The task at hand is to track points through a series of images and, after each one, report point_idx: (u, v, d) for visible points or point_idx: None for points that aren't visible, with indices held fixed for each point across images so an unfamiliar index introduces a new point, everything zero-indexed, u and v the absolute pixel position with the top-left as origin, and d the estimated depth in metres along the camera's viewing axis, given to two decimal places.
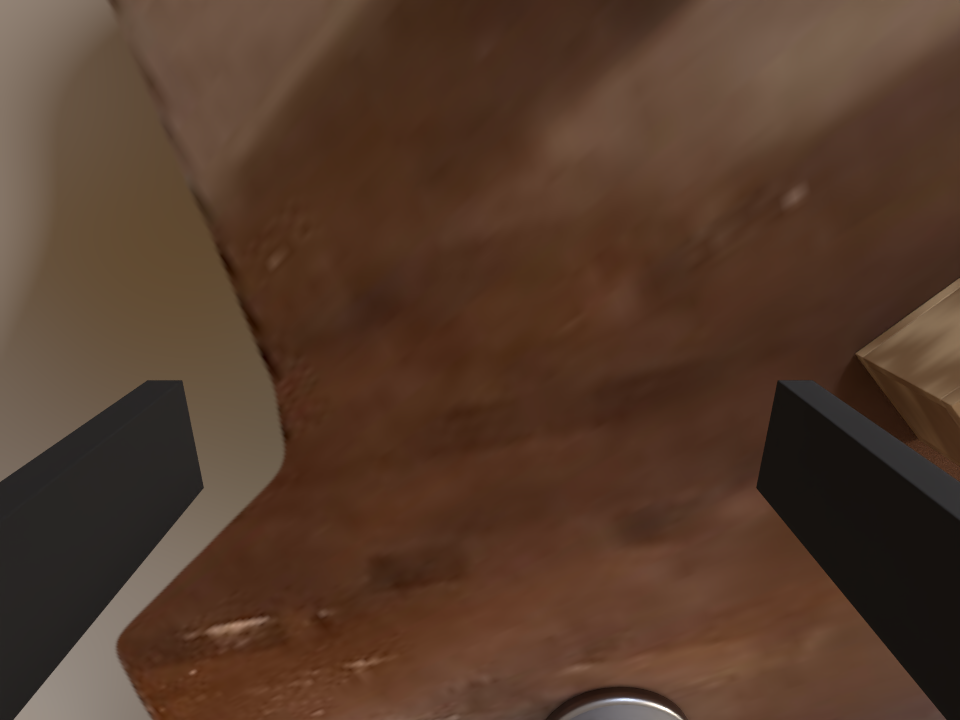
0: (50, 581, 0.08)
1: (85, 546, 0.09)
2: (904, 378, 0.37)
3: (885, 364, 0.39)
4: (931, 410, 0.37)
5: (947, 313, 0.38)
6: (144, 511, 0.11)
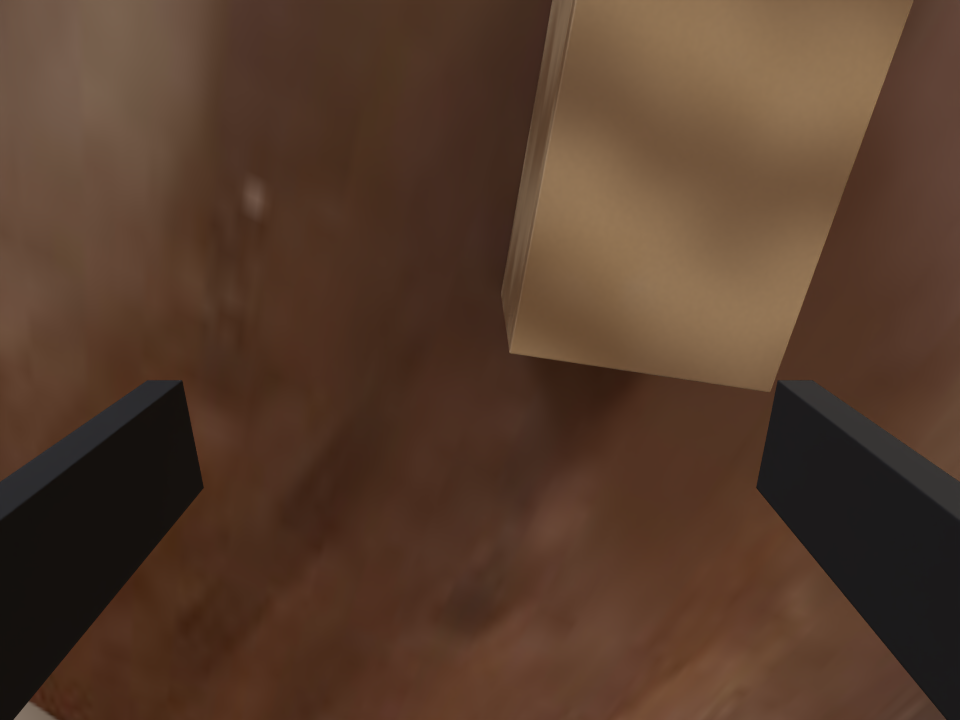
0: (50, 581, 0.08)
1: (85, 547, 0.09)
2: None
3: (504, 301, 0.26)
4: None
5: (523, 188, 0.25)
6: (144, 511, 0.11)
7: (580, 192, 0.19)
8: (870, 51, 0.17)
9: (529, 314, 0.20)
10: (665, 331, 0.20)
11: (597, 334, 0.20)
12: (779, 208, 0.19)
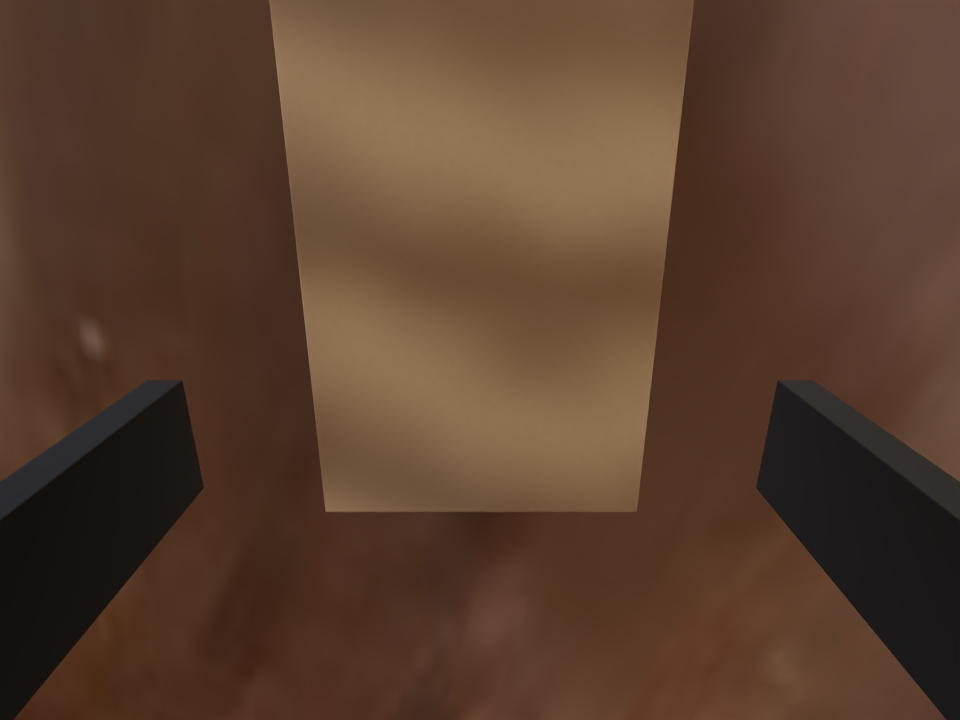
0: (50, 581, 0.08)
1: (86, 546, 0.09)
2: None
3: None
4: None
5: None
6: (144, 511, 0.11)
7: (352, 334, 0.16)
8: (649, 126, 0.14)
9: (335, 469, 0.17)
10: (495, 465, 0.17)
11: (418, 479, 0.17)
12: (590, 316, 0.16)
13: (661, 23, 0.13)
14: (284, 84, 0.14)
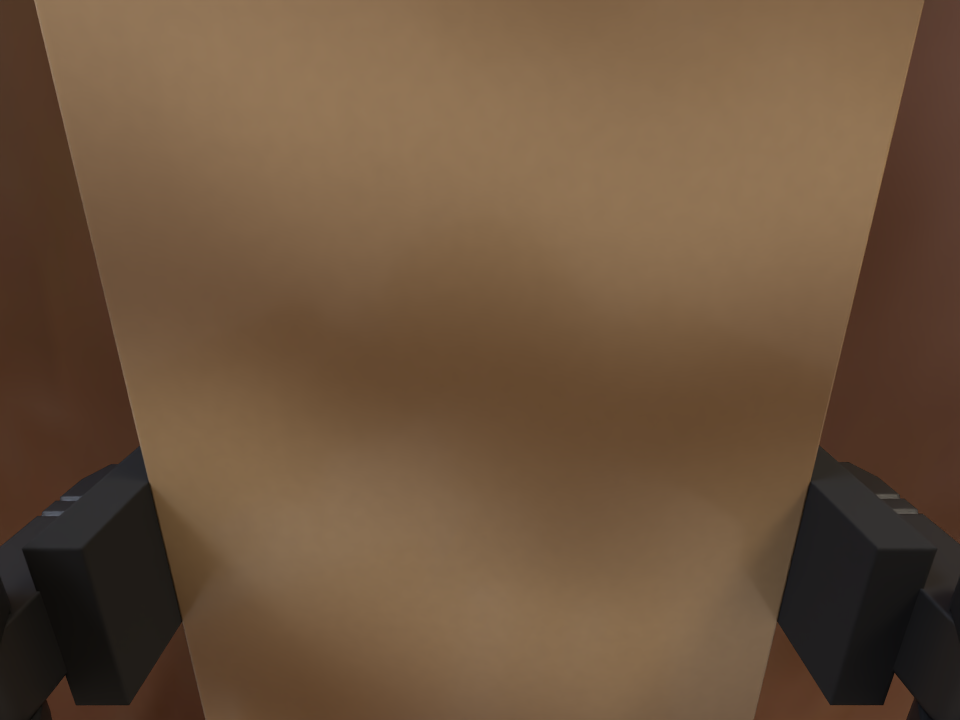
0: None
1: None
2: None
3: None
4: None
5: None
6: None
7: (235, 482, 0.08)
8: (842, 77, 0.07)
9: (223, 695, 0.10)
10: (504, 688, 0.10)
11: (370, 709, 0.10)
12: (687, 450, 0.08)
13: None
14: None
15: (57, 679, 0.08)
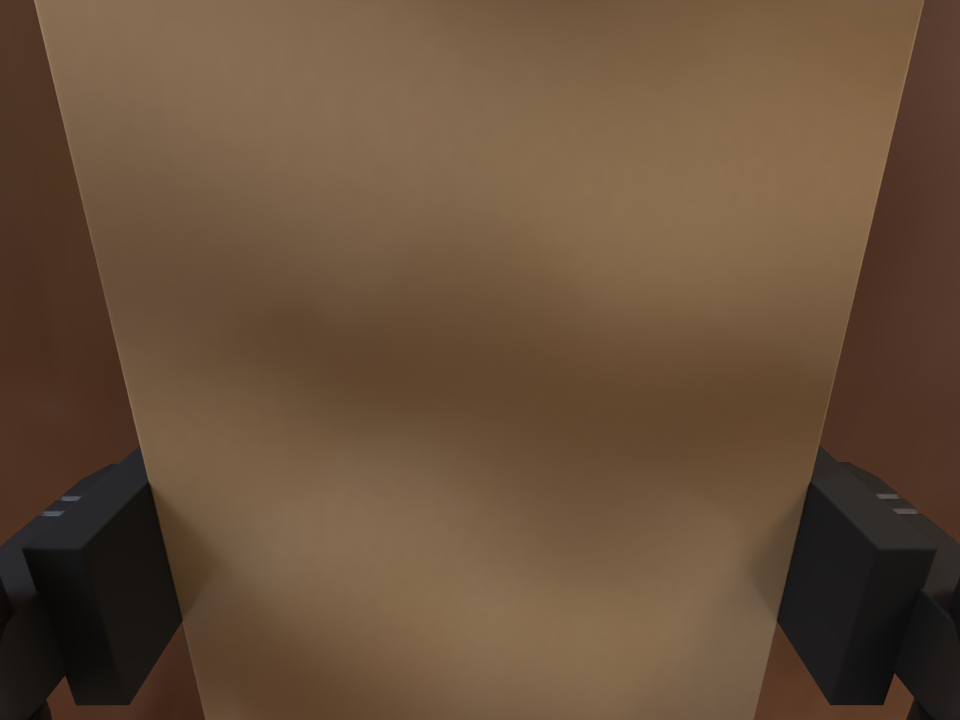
0: None
1: None
2: None
3: None
4: None
5: None
6: None
7: (235, 482, 0.08)
8: (841, 76, 0.07)
9: (223, 695, 0.10)
10: (504, 688, 0.10)
11: (370, 709, 0.10)
12: (687, 449, 0.08)
13: None
14: None
15: (57, 680, 0.08)
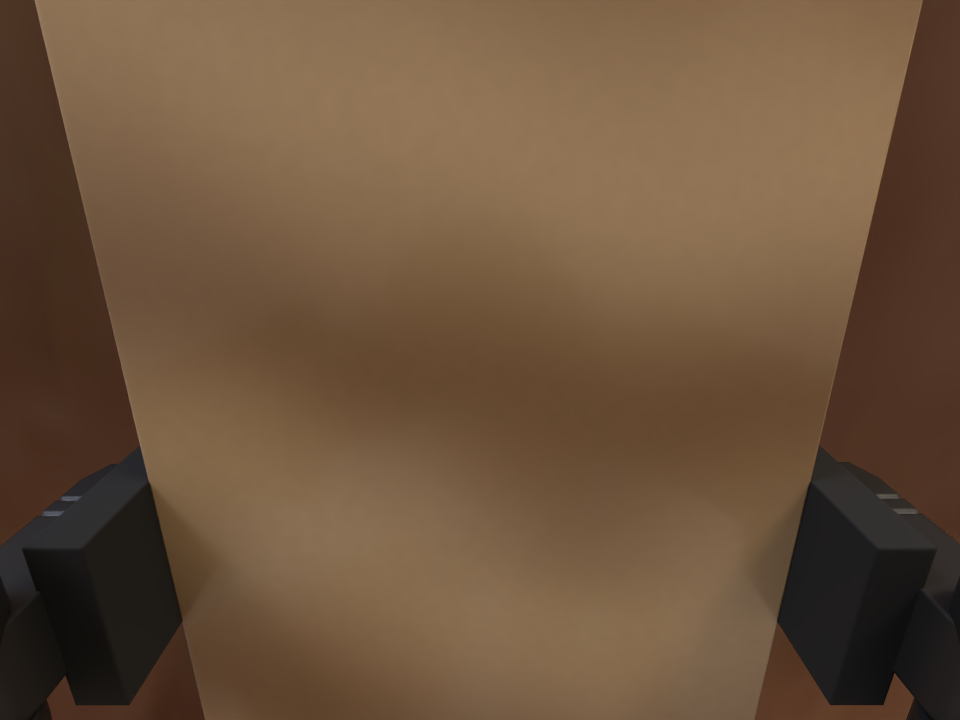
0: None
1: None
2: None
3: None
4: None
5: None
6: None
7: (235, 481, 0.08)
8: (841, 75, 0.07)
9: (223, 695, 0.10)
10: (504, 689, 0.10)
11: (370, 709, 0.10)
12: (687, 449, 0.08)
13: None
14: None
15: (59, 678, 0.08)
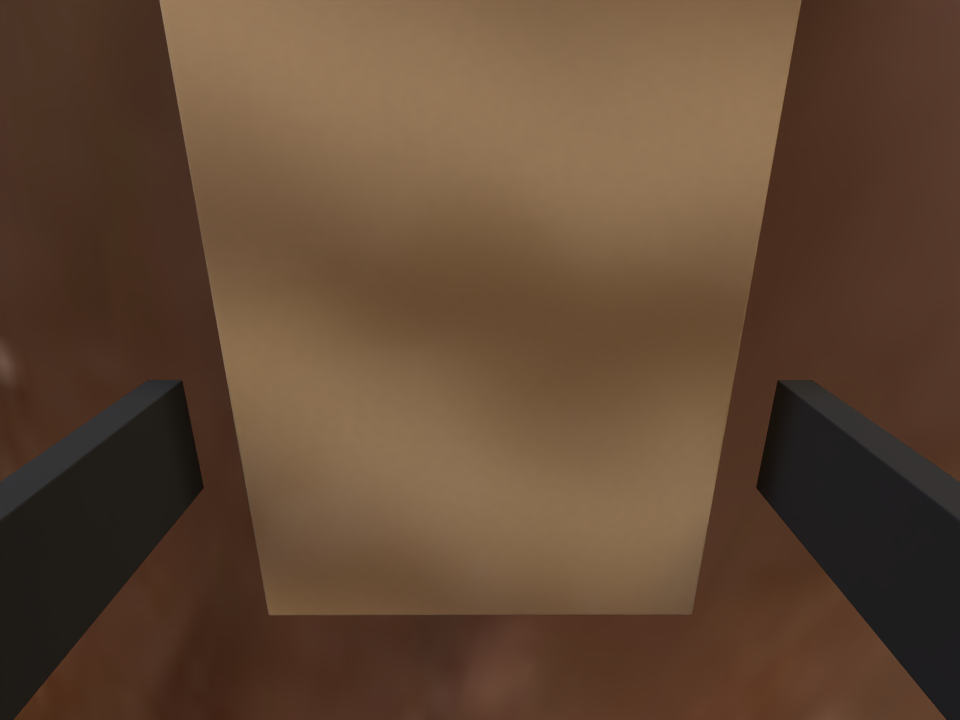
0: (50, 581, 0.08)
1: (86, 546, 0.09)
2: None
3: None
4: None
5: None
6: (144, 511, 0.11)
7: (294, 383, 0.11)
8: (742, 72, 0.09)
9: (278, 562, 0.13)
10: (500, 556, 0.13)
11: (394, 574, 0.13)
12: (638, 357, 0.11)
13: None
14: (169, 4, 0.09)
15: None
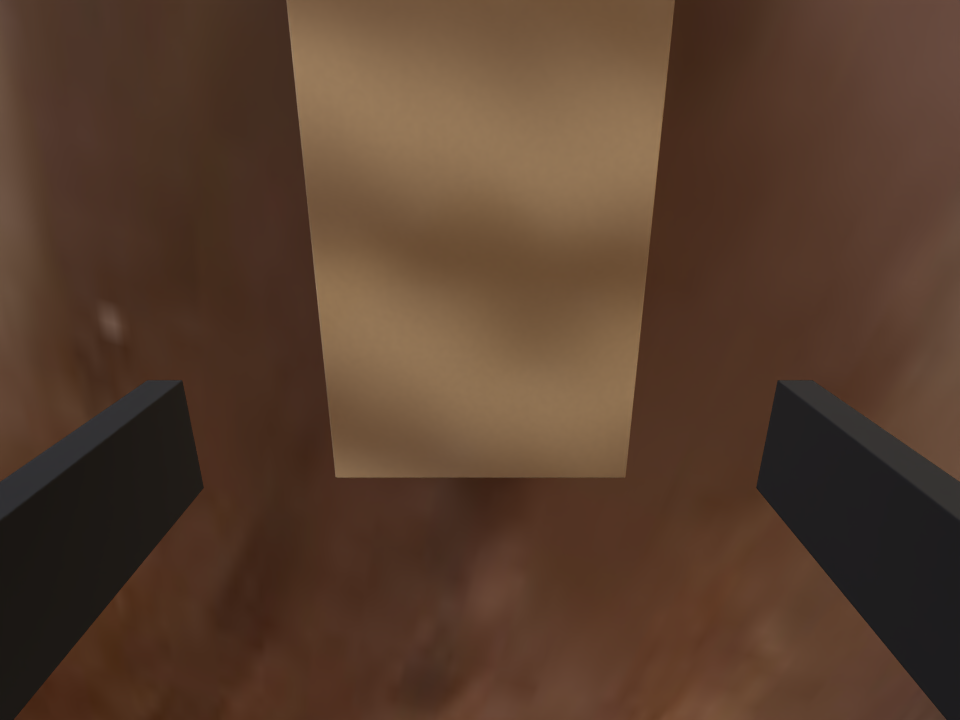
0: (50, 581, 0.08)
1: (86, 547, 0.09)
2: None
3: None
4: None
5: None
6: (144, 511, 0.11)
7: (361, 310, 0.17)
8: (635, 116, 0.15)
9: (344, 437, 0.19)
10: (493, 433, 0.19)
11: (422, 446, 0.19)
12: (581, 293, 0.17)
13: (645, 21, 0.14)
14: (299, 77, 0.15)
15: None
